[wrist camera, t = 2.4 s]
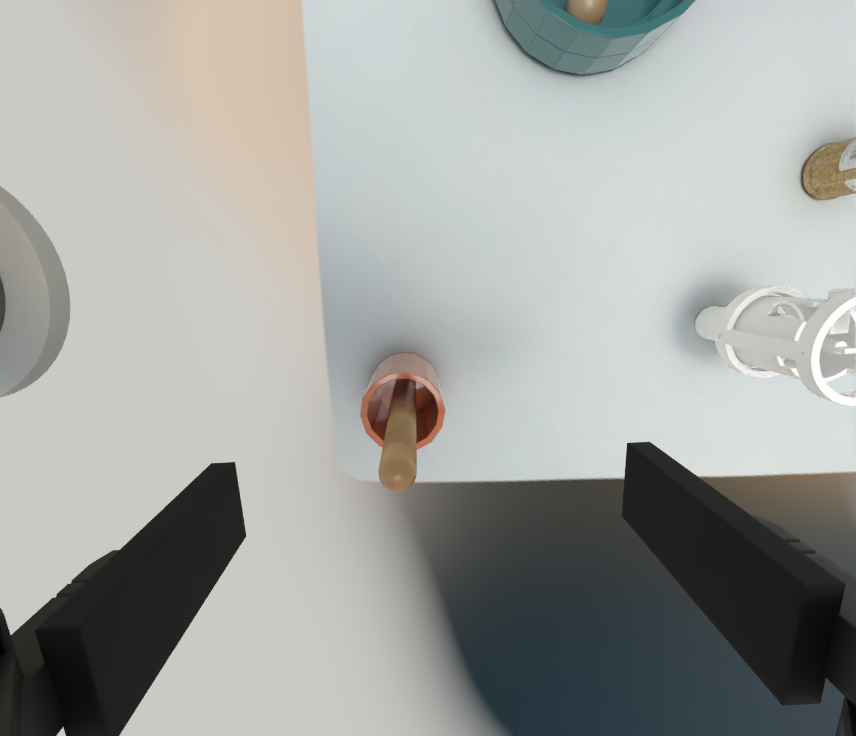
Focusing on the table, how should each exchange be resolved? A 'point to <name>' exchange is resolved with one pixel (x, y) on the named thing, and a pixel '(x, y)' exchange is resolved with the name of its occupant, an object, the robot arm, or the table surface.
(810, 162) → the sprinkles bottle
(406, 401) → the stick
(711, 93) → the table surface
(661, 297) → the table surface
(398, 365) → the utensil pot
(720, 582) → the robot arm
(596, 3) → the bead
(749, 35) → the table surface
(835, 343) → the white cylindrical cage
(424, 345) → the table surface
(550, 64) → the bowl
